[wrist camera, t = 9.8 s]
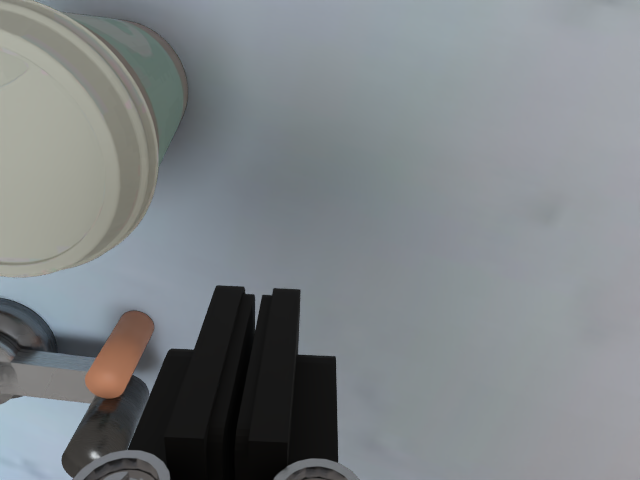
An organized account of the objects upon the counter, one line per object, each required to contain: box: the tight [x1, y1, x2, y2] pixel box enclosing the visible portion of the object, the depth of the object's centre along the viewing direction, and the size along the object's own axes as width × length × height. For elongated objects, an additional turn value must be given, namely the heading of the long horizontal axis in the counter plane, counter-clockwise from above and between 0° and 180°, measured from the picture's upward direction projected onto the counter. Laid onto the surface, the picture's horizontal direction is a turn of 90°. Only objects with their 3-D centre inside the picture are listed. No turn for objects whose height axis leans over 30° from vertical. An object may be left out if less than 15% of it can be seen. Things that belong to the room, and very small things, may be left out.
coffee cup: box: [0, 0, 188, 277], centre depth 21 cm, size 8×8×12 cm
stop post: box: [85, 311, 154, 399], centre depth 30 cm, size 2×2×5 cm
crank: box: [0, 333, 149, 478], centre depth 29 cm, size 12×4×6 cm, turn 82°
